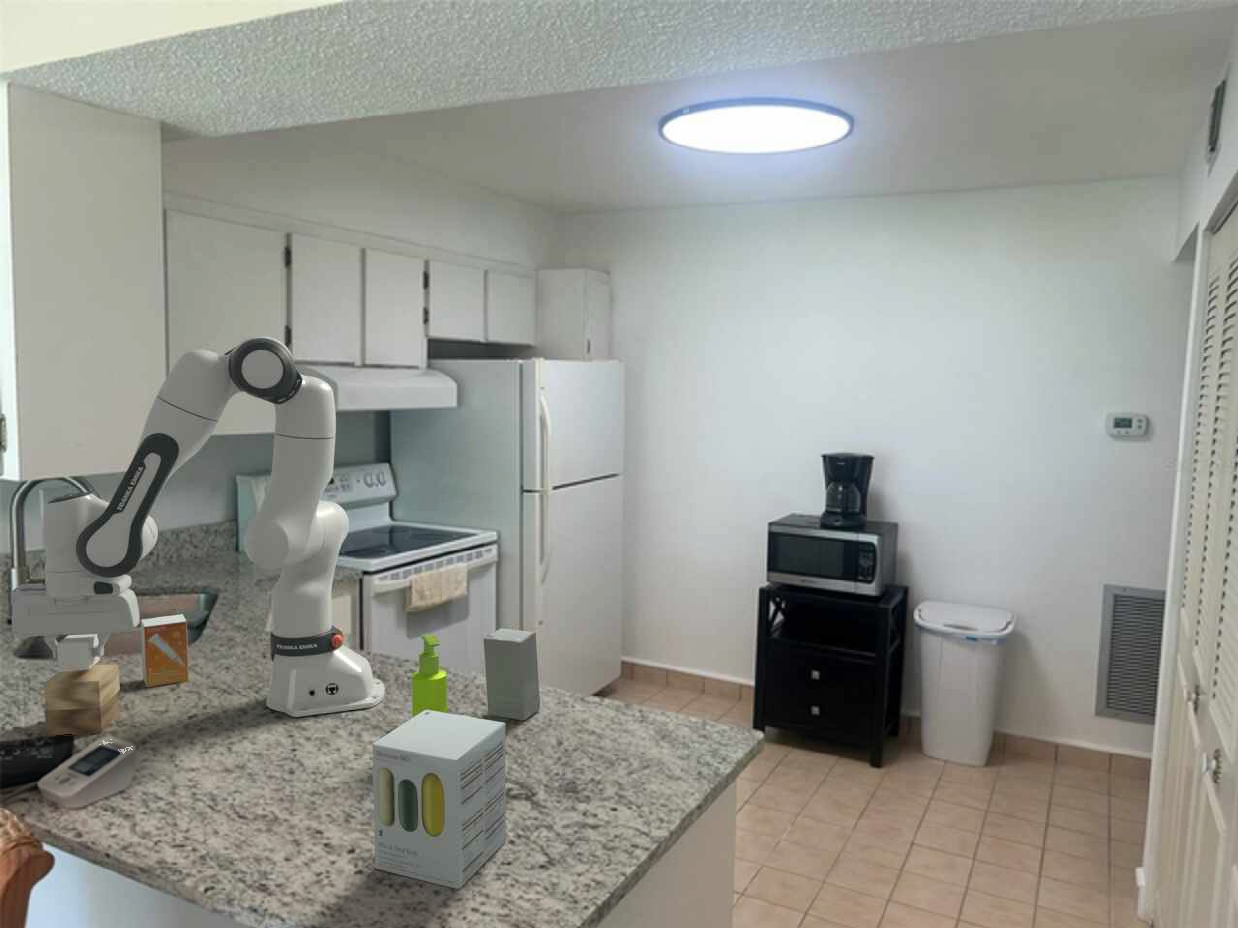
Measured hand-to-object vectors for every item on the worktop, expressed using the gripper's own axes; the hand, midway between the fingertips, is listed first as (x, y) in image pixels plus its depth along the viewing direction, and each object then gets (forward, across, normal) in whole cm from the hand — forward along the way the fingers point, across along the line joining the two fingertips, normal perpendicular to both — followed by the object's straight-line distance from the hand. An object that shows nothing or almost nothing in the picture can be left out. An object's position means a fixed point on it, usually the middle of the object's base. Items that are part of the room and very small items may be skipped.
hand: (78, 656), depth 163 cm
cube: (+2, 0, 0) cm, 2 cm away
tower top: (+8, 0, 0) cm, 8 cm away
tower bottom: (+13, 0, 0) cm, 13 cm away
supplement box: (+13, +65, -56) cm, 87 cm away
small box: (+13, +8, +22) cm, 27 cm away
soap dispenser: (+13, +63, -21) cm, 68 cm away
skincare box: (+13, +78, -8) cm, 79 cm away
